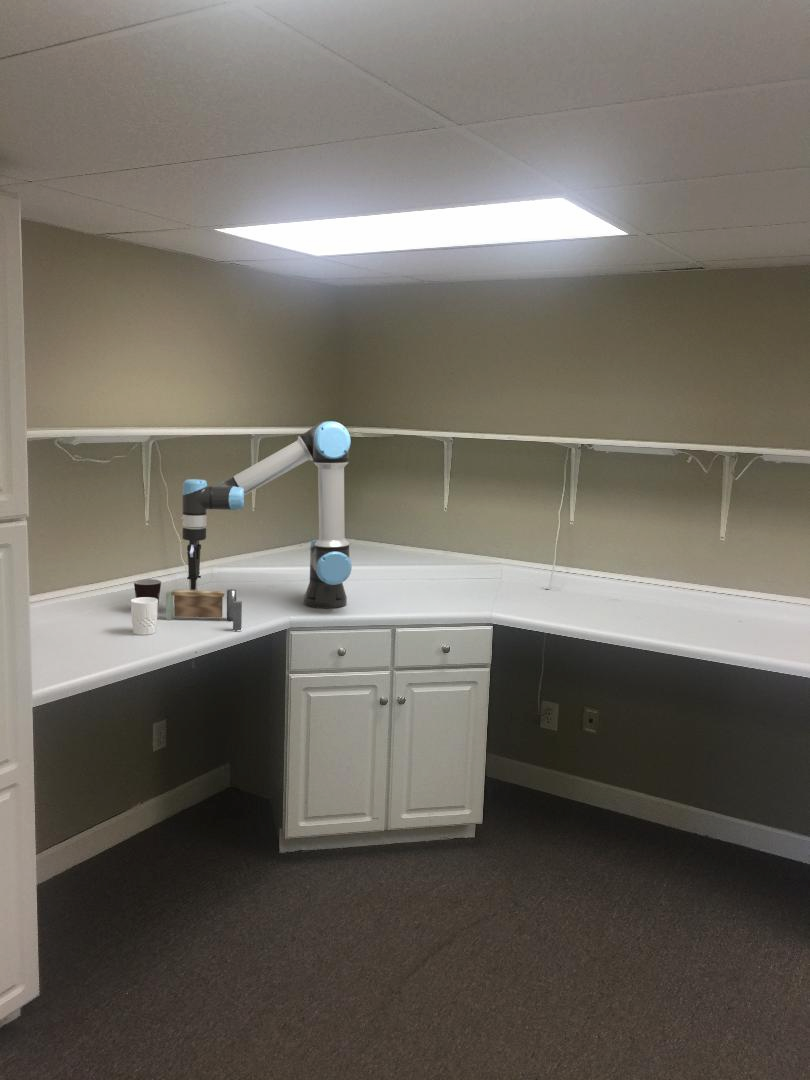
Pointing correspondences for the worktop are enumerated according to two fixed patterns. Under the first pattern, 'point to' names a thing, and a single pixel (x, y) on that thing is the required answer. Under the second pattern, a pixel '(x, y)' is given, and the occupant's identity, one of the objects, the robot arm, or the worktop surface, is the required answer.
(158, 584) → the coffee mug
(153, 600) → the white cup
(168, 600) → the gate frame
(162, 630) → the worktop surface
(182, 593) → the wooden flat block
